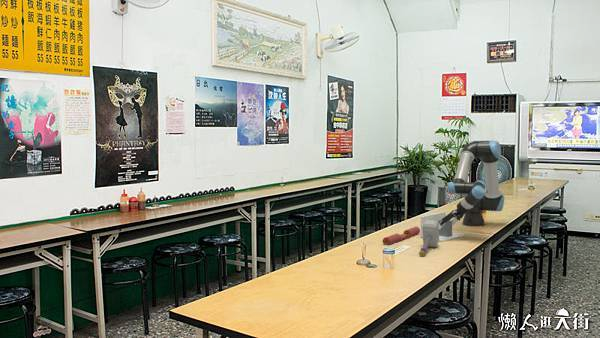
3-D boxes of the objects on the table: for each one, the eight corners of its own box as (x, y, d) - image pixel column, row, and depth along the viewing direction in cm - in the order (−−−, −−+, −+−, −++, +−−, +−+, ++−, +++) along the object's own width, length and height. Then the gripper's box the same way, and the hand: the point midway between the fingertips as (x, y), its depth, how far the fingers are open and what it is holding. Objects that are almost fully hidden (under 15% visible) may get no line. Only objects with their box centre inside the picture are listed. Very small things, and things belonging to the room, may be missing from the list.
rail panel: (443, 232, 351) (443, 211, 350) (465, 235, 339) (465, 214, 338) (420, 238, 334) (420, 216, 333) (442, 241, 322) (442, 219, 321)
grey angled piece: (428, 242, 282) (438, 219, 308) (413, 241, 286) (424, 219, 311) (429, 267, 287) (439, 242, 312) (415, 265, 290) (426, 241, 316)
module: (442, 234, 340) (442, 217, 339) (452, 235, 334) (452, 219, 334) (438, 235, 336) (438, 218, 336) (447, 237, 331) (447, 220, 330)
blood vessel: (413, 233, 351) (413, 226, 350) (420, 234, 348) (420, 226, 347) (382, 245, 318) (382, 237, 318) (389, 246, 315) (389, 238, 315)
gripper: (457, 212, 313) (436, 233, 325) (479, 207, 329) (458, 228, 341) (450, 202, 316) (429, 224, 329) (472, 198, 333) (451, 219, 345)
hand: (444, 226), depth 335 cm, fingers open, 13 cm apart
